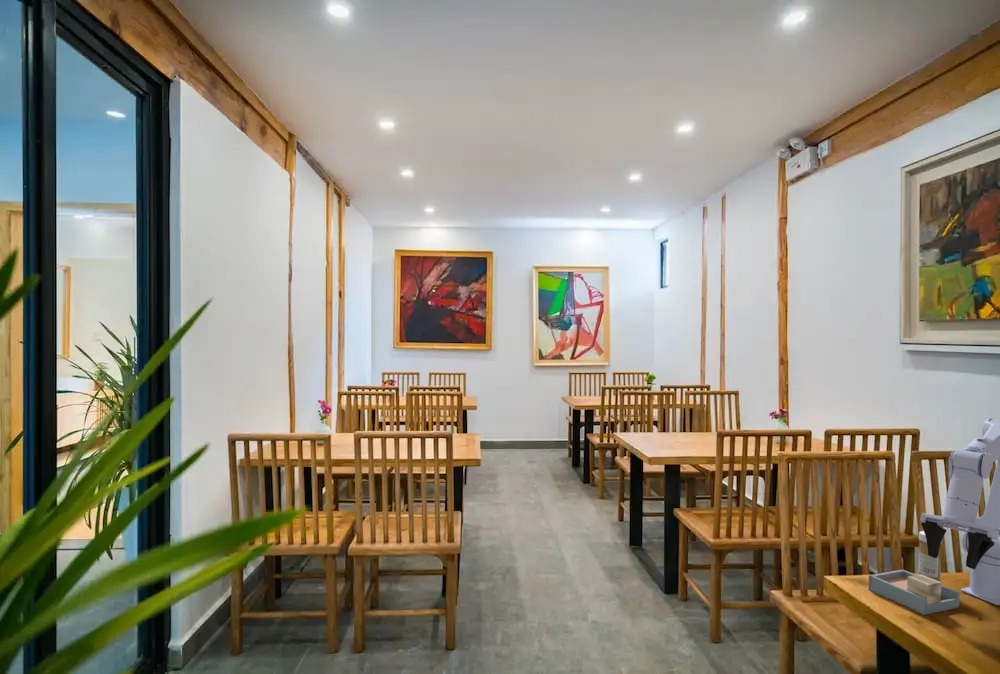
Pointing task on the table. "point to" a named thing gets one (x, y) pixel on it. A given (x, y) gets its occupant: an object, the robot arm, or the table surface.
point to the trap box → (896, 589)
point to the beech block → (925, 588)
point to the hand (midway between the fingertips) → (950, 562)
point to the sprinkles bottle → (928, 560)
